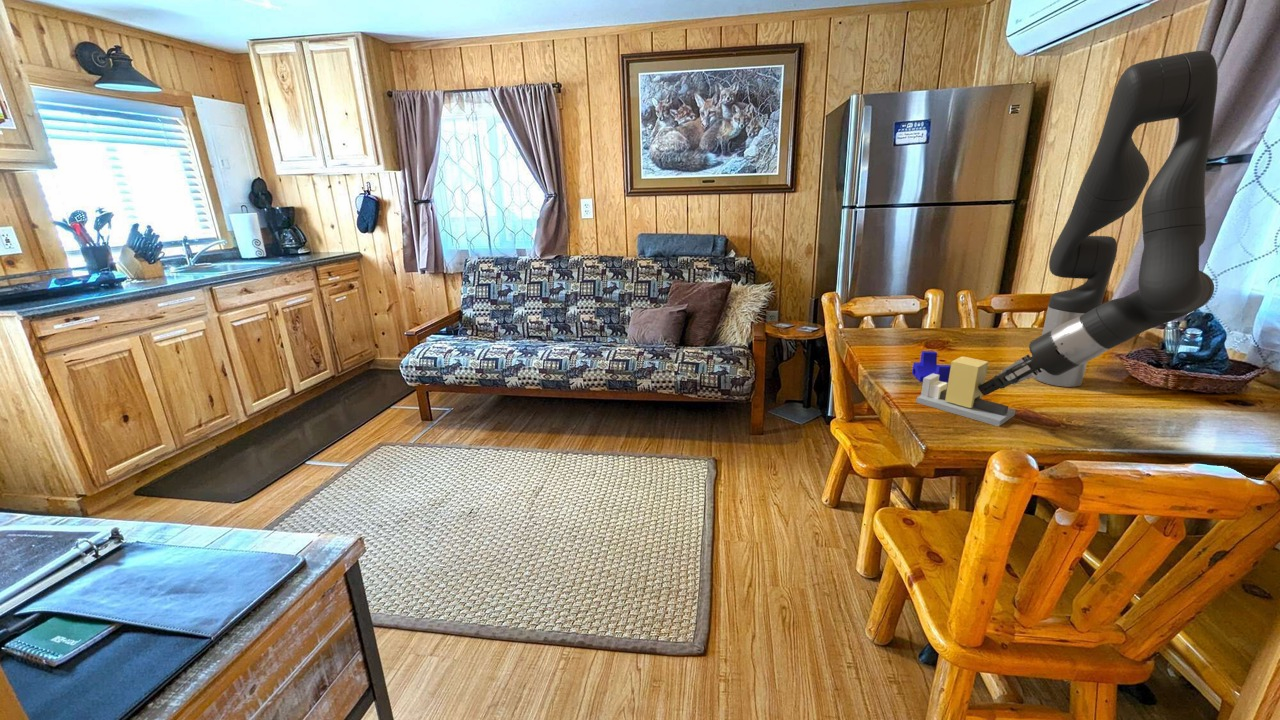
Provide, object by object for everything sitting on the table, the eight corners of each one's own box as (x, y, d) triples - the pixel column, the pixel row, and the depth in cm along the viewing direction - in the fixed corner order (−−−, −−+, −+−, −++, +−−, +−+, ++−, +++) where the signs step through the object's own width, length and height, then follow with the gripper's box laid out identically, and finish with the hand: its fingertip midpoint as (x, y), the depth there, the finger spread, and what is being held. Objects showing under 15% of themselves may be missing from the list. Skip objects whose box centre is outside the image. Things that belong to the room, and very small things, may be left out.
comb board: (933, 393, 122) (936, 371, 120) (1014, 415, 110) (1019, 391, 108) (916, 402, 117) (919, 379, 115) (998, 426, 105) (1003, 401, 103)
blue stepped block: (911, 373, 134) (915, 350, 133) (931, 374, 134) (935, 351, 132) (928, 391, 123) (932, 366, 121) (949, 392, 123) (954, 367, 121)
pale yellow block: (955, 395, 117) (962, 356, 114) (981, 401, 113) (988, 361, 110) (945, 401, 114) (951, 361, 111) (970, 408, 110) (978, 367, 107)
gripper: (1066, 322, 102) (983, 367, 115) (1041, 335, 94) (955, 382, 107) (1094, 355, 100) (1006, 398, 113) (1072, 371, 92) (980, 415, 105)
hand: (982, 390), depth 110 cm, fingers closed
